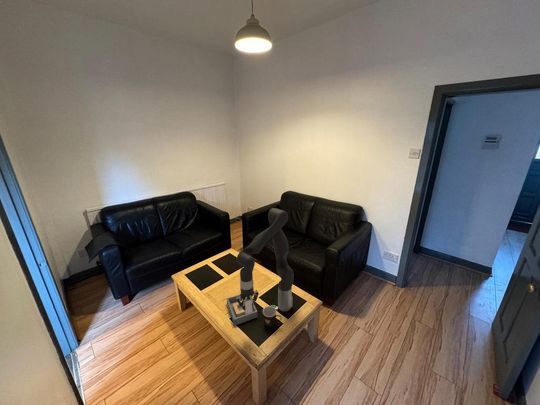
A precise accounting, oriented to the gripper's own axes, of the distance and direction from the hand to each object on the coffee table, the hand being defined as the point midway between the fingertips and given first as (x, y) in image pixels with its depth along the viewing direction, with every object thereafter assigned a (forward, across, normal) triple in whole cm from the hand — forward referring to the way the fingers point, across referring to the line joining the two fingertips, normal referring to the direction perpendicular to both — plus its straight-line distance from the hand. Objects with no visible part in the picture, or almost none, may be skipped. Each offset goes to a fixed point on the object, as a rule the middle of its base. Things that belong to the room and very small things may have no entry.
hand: (247, 308), depth 130 cm
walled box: (+19, -1, -18) cm, 26 cm away
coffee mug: (+19, -15, +1) cm, 24 cm away
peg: (+2, 0, 0) cm, 2 cm away
